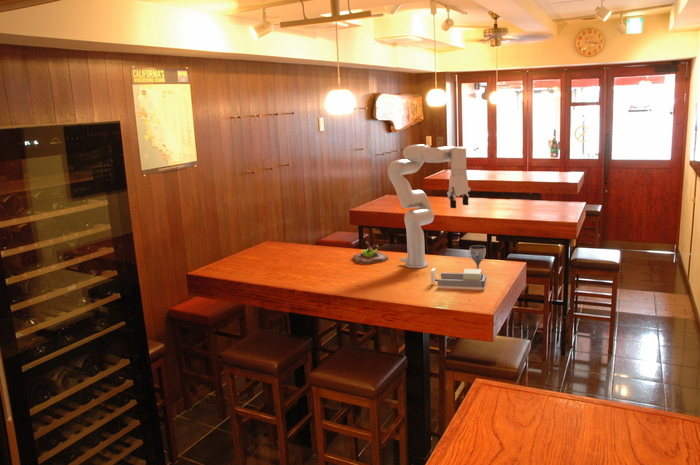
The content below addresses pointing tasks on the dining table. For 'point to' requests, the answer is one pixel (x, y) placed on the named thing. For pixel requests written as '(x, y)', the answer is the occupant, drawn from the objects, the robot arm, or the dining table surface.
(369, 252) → the plant
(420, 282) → the dining table surface
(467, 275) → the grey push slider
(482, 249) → the wine glass
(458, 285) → the lane tray
